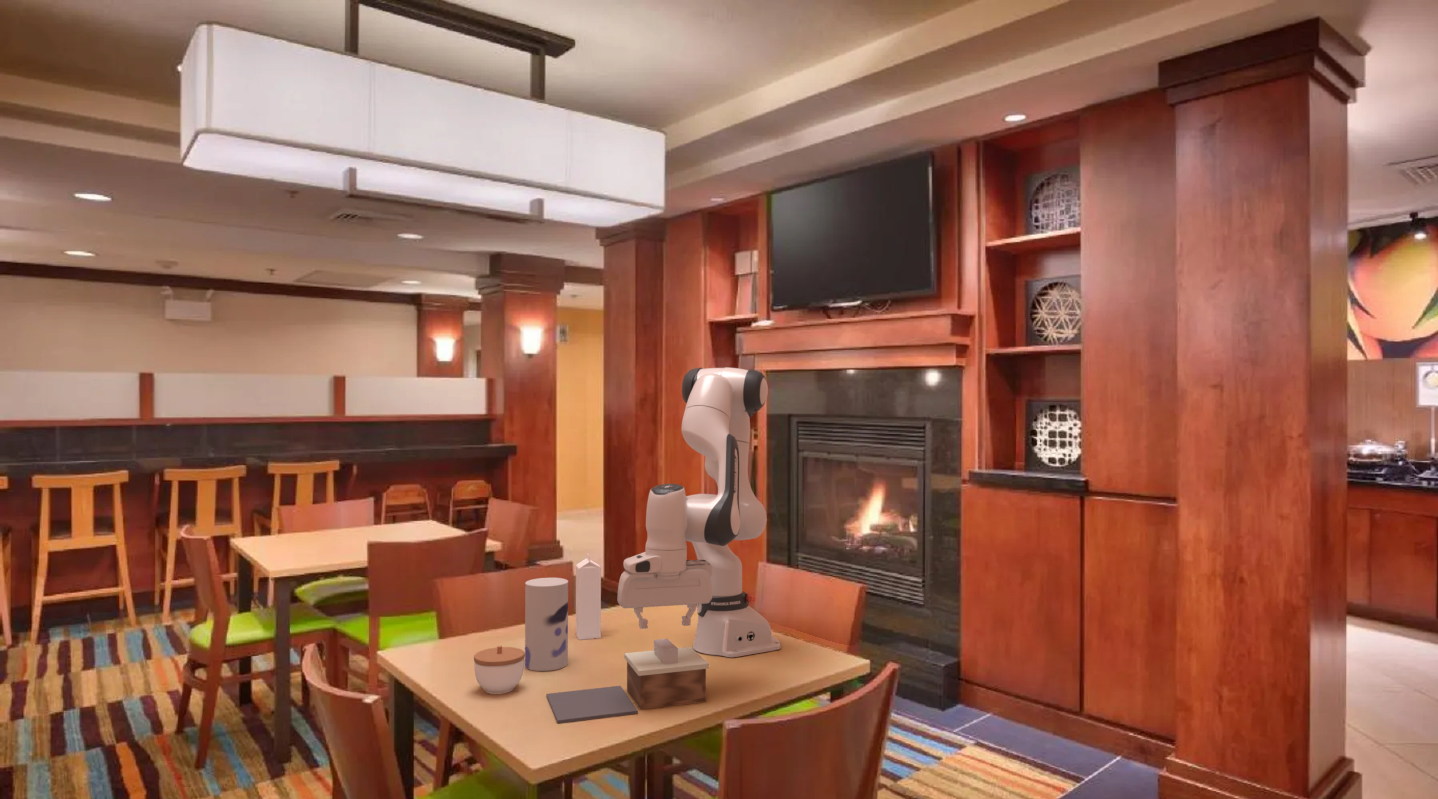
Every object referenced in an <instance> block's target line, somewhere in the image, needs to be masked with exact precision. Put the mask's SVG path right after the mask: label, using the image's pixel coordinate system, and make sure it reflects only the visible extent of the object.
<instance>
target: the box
mask: <svg viewBox="0 0 1438 799" xmlns="http://www.w3.org/2000/svg"><path fill="white" fill-rule="evenodd" d="M626 691H627V693H628V694H629V696H630V697H631V699H632V700H633V701H634V703H635V704H636V705H637V707H638V708H639V710H649V709H656V708H664V707H665V708H666V707H674V706H680V705H690V704H698V703H705V702H706V701H707V669H699V670H689V671H680V672H671V673H662V674H652V675H643V676H638V674H637V673H636V672H635V671H634V669H633V668H632V667H631V666H630V664H629V663H628V662H627V661H626Z"/></svg>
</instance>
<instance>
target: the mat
mask: <svg viewBox="0 0 1438 799" xmlns="http://www.w3.org/2000/svg"><path fill="white" fill-rule="evenodd" d="M623 688H624V687H622V686H621V685H614V686H604V687H603V686H602V687H597V688H595V687H594V688H587V689H579V690H578V689H576V690H569V691H561V692H552V693H546V699H547V702H548V704H549V707H550V709H551V711H552V714H553V717H554V719H555V721H556V723H558V724H563V723H565V724H566V723H573V722H580V721H588V720H589V721H590V720H598V719H605V718H614V716H615V717H620V716H628V715H629V716H630V715H638V714H639V710H638V708H637V707H636V706H635V704H634V703H633V701H632V700H631V698H630V697H629V696H628V694H627V693H626V691H625V690H624V689H623Z"/></svg>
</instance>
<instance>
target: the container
mask: <svg viewBox="0 0 1438 799" xmlns="http://www.w3.org/2000/svg"><path fill="white" fill-rule="evenodd" d="M524 583H525V584H524V585H525V587H524V588H525V592H524V593H525V594H524V598H525V599H524V600H525V602H524V603H525V604H524V605H525V607H524V609H525V610H524V611H525V612H524V613H525V614H524V624H525V625H524V628H525V629H524V635H525V636H524V652H525V658H524V668H525V669H527V670H529V671H530V670H531V671H537V672H548V671H556V670H561V669H563V668H564V667H567V666H568V664H569V580H568V579H566V578H562V577H539V578H533V579H529V580H526V581H525V582H524Z"/></svg>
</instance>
